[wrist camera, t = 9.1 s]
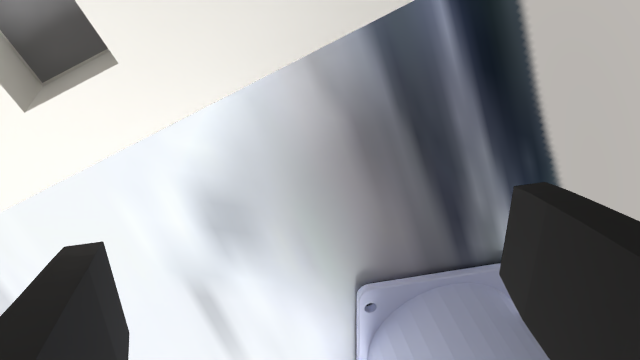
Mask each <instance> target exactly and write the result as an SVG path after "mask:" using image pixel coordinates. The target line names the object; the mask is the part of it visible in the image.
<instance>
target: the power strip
mask: <svg viewBox="0 0 640 360" xmlns="http://www.w3.org/2000/svg"><path fill="white" fill-rule="evenodd" d="M412 1H414V0H0V213H1V212H3V211H5V210H7V209H8V208H10V207H12V206H14V205H16V204H18V203H20V202H22V201H24V200H26V199H28V198H30V197H32V196H34V195H36V194H38V193H40V192H42V191H44V190H46V189H47V188H49V187H51V186H53V185H55V184H57V183H59V182H61V181H63V180H65V179H67V178H69V177H71V176H73V175H75V174H77V173H79V172H81V171H83V170H84V169H86V168H88V167H90V166H92V165H94V164H96V163H98V162H100V161H102V160H104V159H106V158H108V157H110V156H112V155H114V154H116V153H118V152H120V151H122V150H123V149H125V148H127V147H129V146H131V145H133V144H135V143H137V142H139V141H141V140H143V139H145V138H147V137H149V136H151V135H153V134H155V133H157V132H159V131H161V130H162V129H164V128H166V127H168V126H170V125H172V124H174V123H176V122H178V121H180V120H182V119H184V118H186V117H188V116H190V115H192V114H194V113H196V112H198V111H199V110H201V109H203V108H205V107H207V106H209V105H211V104H213V103H215V102H217V101H219V100H221V99H223V98H225V97H227V96H229V95H231V94H233V93H235V92H237V91H238V90H240V89H242V88H244V87H246V86H248V85H250V84H252V83H254V82H256V81H258V80H260V79H262V78H264V77H266V76H268V75H270V74H272V73H274V72H275V71H277V70H279V69H281V68H283V67H285V66H287V65H289V64H291V63H293V62H295V61H297V60H299V59H301V58H303V57H305V56H307V55H309V54H311V53H313V52H314V51H316V50H318V49H320V48H322V47H324V46H326V45H328V44H330V43H332V42H334V41H336V40H338V39H340V38H342V37H344V36H346V35H348V34H350V33H352V32H353V31H355V30H357V29H359V28H361V27H363V26H365V25H367V24H369V23H371V22H373V21H375V20H377V19H379V18H381V17H383V16H385V15H387V14H389V13H390V12H392V11H394V10H396V9H398V8H400V7H402V6H404V5H406V4H408V3H410V2H412Z"/></svg>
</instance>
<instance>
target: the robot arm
mask: <svg viewBox="0 0 640 360" xmlns="http://www.w3.org/2000/svg"><path fill="white" fill-rule="evenodd" d="M369 303H373V304H372V305H370V306H366V305H367V304H369ZM128 351H129V330H128V327H127V323H126V320H125V316H124V313H123V309H122V306H121V302H120V299H119V295H118V292H117V288H116V285H115V281H114V278H113V274H112V271H111V267H110V264H109V260H108V257H107V253H106V250H105V246H104V243H103V242H96V243H89V244H82V245H74V246H67V247H63V249H62V250H61V251H60V252H59V253H58V254H57V255H56V256H55V257H54V258H53V259H52V260H51V261H50V262H49V263H48V265H47V266H46V267H45V268H44V269H43V270H42V271H41V272H40V273H39V275H38V276H37V277H36V278H35V279H34V280H33V281H32V282H31V284H30V285H29V286H28V287H27V288H26V289H25V290H24V291H23V292H22V294H21V295H20V296H19V297H18V298H17V299H16V300H15V301H14V302H13V303H12V305H11V306H10V307H9V308H8V309H7V310H6V311H5V312H4V313H3V314H2V315H1V316H0V360H128ZM357 360H640V221H637V220H635V219H633V218H631V217H628V216H626V215H624V214H622V213H619V212H617V211H615V210H613V209H610V208H608V207H606V206H603V205H601V204H599V203H596V202H594V201H592V200H590V199H587V198H585V197H583V196H580V195H578V194H576V193H573V192H571V191H568V190H566V189H563V188H560V187H558V186H555V185H552V184H549V183H546V182H542V183H535V184H527V185H520V186H514V189H513V195H512V201H511V207H510V213H509V218H508V224H507V230H506V236H505V242H504V248H503V254H502V260H501V263H499V264H492V265H486V266H479V267H473V268H467V269H460V270H454V271H447V272H441V273H435V274H428V275H422V276H416V277H409V278H403V279H396V280H390V281H384V282H377V283H371V284H367V285H364V286H362V287H361V288H360V289H359V290H358V292H357Z"/></svg>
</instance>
